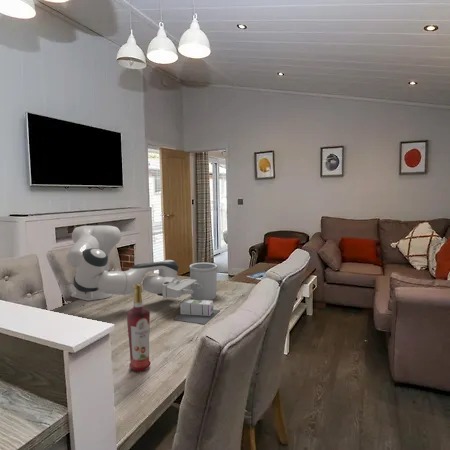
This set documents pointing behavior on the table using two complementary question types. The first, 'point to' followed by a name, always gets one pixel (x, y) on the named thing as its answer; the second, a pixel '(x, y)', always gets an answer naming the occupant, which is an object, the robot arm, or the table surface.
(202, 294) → the utensil holder
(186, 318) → the mat
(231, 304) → the table surface
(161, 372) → the table surface
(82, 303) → the table surface
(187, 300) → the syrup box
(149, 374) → the table surface
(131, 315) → the liquor
